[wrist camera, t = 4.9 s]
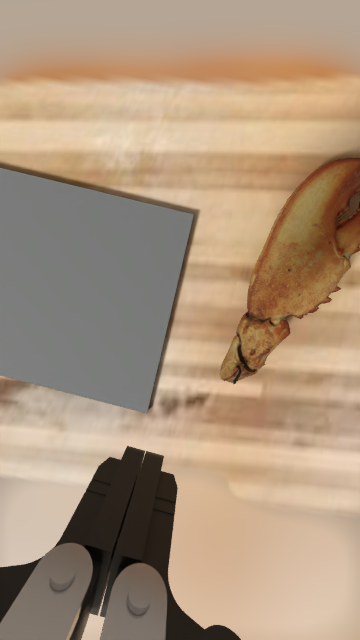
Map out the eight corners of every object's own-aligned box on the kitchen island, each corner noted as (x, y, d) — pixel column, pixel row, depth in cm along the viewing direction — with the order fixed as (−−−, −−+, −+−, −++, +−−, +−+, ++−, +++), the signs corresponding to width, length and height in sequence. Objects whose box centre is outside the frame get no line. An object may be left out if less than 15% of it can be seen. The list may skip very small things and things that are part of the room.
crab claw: (180, 356, 19) (336, 127, 18) (187, 350, 24) (309, 172, 23) (259, 413, 18) (429, 173, 17) (249, 394, 23) (379, 209, 22)
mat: (193, 215, 21) (193, 214, 20) (148, 409, 25) (147, 413, 25) (-97, 145, 21) (-105, 142, 21) (-94, 347, 26) (-101, 349, 25)
